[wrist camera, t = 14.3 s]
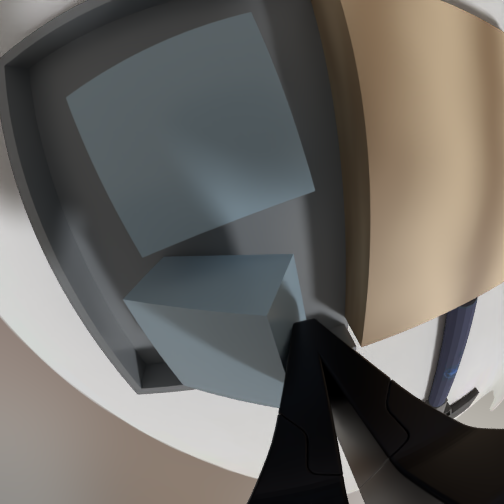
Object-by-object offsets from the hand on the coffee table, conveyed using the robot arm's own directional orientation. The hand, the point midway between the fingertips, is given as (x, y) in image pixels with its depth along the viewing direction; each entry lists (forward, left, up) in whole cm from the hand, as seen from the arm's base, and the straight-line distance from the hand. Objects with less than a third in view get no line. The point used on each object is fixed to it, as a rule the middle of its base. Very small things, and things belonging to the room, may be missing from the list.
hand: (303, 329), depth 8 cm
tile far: (+2, 0, -2) cm, 3 cm away
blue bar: (-20, +21, -4) cm, 29 cm away
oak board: (-10, -4, -4) cm, 12 cm away
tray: (+3, -4, -4) cm, 6 cm away
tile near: (+2, -6, -3) cm, 7 cm away
